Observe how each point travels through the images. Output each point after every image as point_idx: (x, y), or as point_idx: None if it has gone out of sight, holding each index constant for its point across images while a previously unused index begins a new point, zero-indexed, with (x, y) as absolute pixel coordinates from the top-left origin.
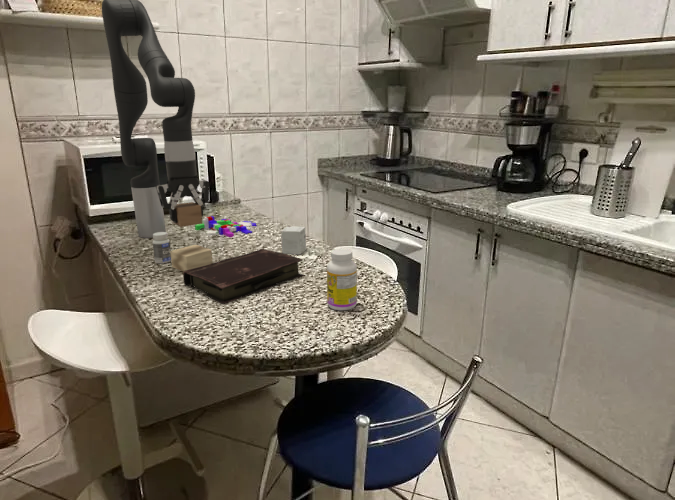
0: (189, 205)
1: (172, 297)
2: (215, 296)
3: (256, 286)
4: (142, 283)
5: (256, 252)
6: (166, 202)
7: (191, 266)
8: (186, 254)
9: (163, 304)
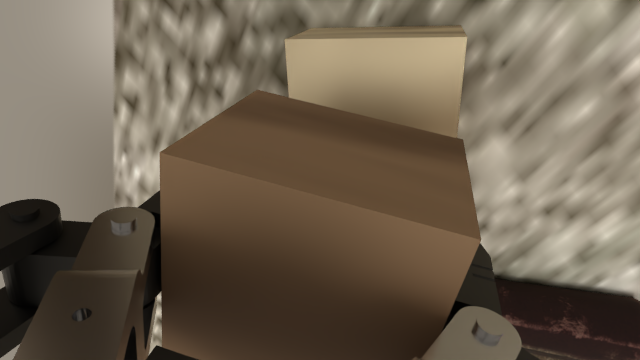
0: (312, 355)
1: None
2: None
3: None
4: (151, 115)
5: (584, 356)
6: (15, 335)
7: None
8: None
9: (158, 297)
